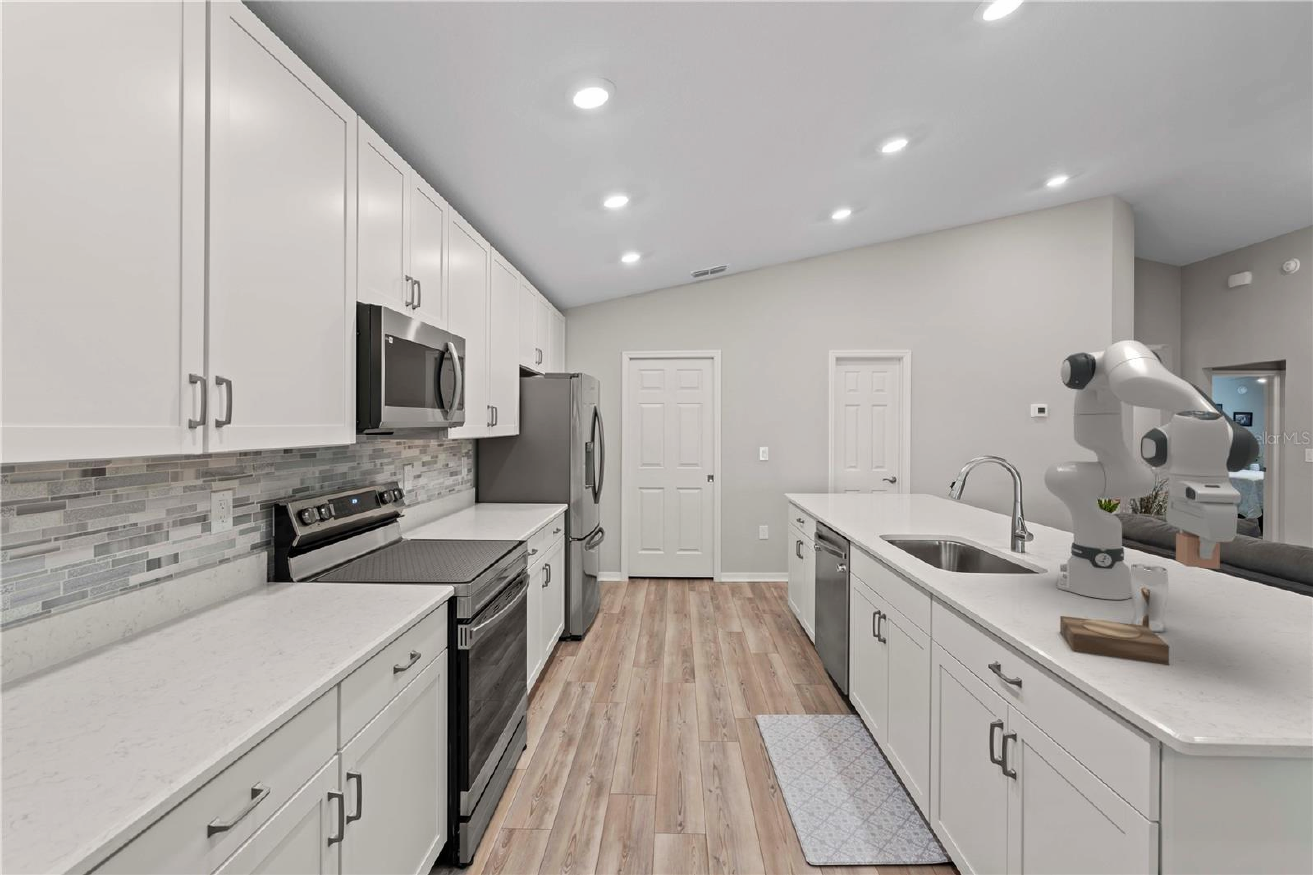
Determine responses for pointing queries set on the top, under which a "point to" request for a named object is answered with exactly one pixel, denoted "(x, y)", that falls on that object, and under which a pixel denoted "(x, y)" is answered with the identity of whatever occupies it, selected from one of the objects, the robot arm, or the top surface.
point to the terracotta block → (1194, 552)
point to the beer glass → (1149, 595)
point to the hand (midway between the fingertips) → (1196, 554)
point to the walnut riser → (1114, 639)
